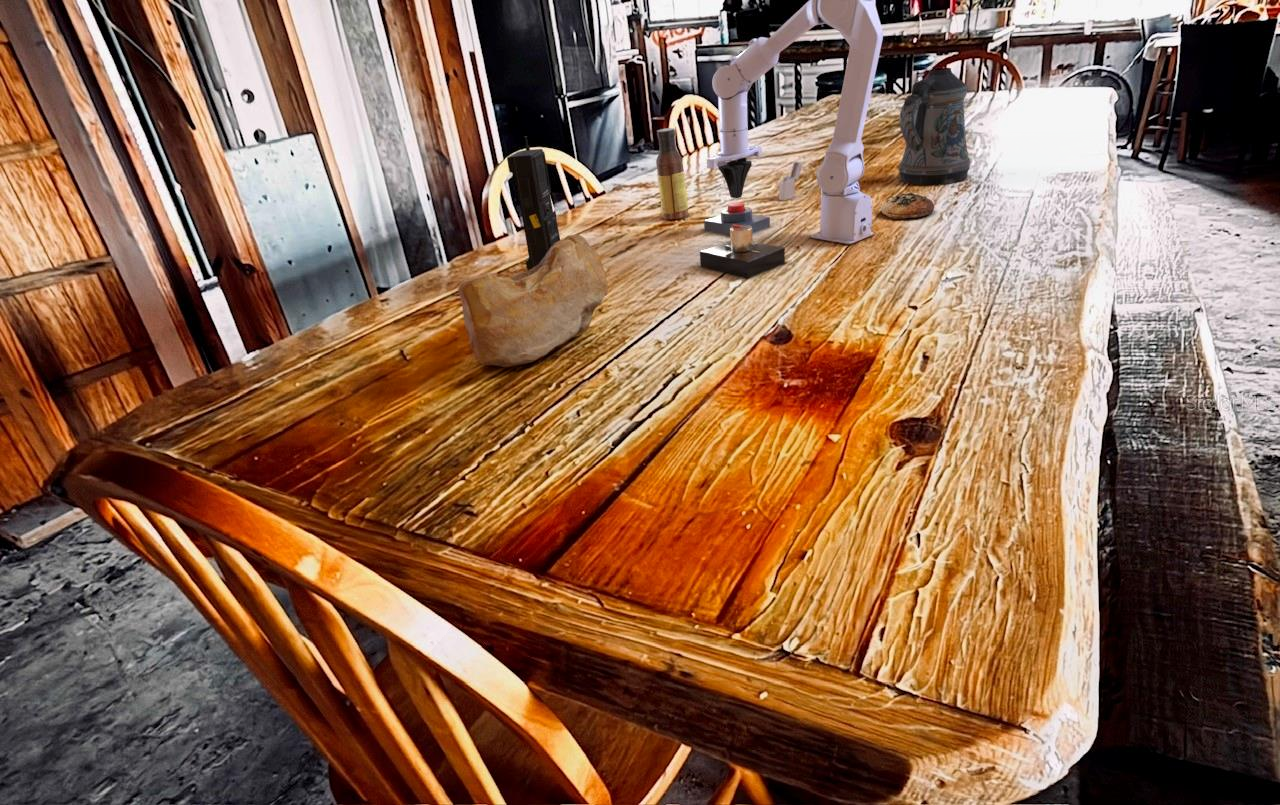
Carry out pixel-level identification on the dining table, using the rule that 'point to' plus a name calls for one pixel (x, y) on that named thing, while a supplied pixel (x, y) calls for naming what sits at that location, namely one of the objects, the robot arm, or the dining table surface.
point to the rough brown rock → (534, 305)
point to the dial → (741, 238)
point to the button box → (736, 221)
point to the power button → (736, 207)
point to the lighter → (789, 182)
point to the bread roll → (907, 206)
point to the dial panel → (742, 259)
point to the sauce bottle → (671, 177)
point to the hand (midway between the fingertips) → (736, 197)
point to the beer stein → (934, 131)
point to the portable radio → (534, 202)
